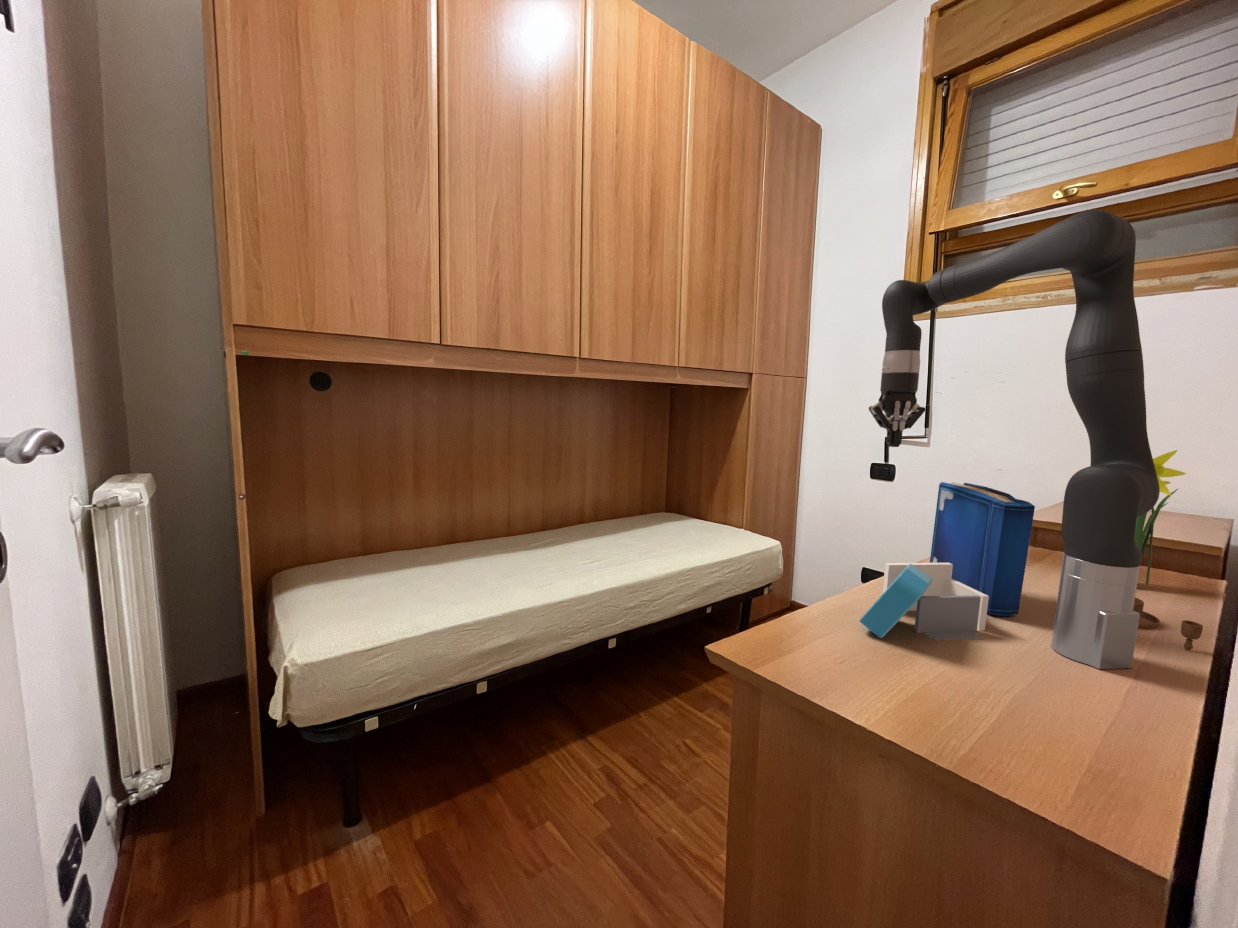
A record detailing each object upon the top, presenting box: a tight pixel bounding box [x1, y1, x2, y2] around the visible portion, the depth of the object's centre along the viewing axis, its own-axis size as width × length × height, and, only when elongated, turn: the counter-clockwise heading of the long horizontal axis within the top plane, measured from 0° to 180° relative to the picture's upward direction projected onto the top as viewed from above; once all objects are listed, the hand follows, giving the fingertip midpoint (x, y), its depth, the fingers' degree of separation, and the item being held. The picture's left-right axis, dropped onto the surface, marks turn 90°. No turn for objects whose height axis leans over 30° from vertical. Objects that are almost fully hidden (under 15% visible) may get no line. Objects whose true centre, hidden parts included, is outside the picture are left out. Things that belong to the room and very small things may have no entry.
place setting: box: [1133, 596, 1204, 652], centre depth 98 cm, size 18×20×6 cm
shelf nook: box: [882, 562, 989, 641], centre depth 96 cm, size 14×14×10 cm
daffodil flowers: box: [1135, 449, 1187, 586], centre depth 119 cm, size 17×15×35 cm
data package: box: [859, 564, 932, 639], centre depth 92 cm, size 12×4×12 cm, turn 139°
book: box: [929, 481, 1036, 617], centre depth 108 cm, size 22×7×25 cm, turn 179°
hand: (893, 446), depth 115 cm, fingers closed
